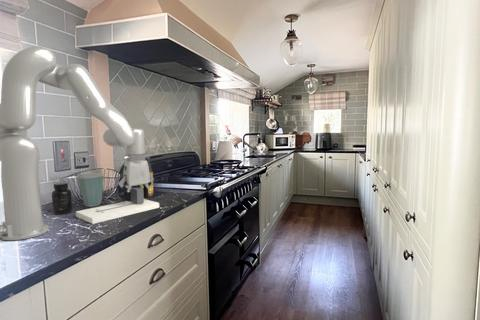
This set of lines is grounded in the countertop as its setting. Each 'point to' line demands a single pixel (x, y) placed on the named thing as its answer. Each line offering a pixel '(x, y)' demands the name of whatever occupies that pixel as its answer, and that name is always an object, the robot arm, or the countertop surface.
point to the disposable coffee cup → (91, 187)
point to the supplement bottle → (61, 199)
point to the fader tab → (137, 195)
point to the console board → (115, 211)
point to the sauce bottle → (150, 190)
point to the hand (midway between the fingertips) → (137, 198)
